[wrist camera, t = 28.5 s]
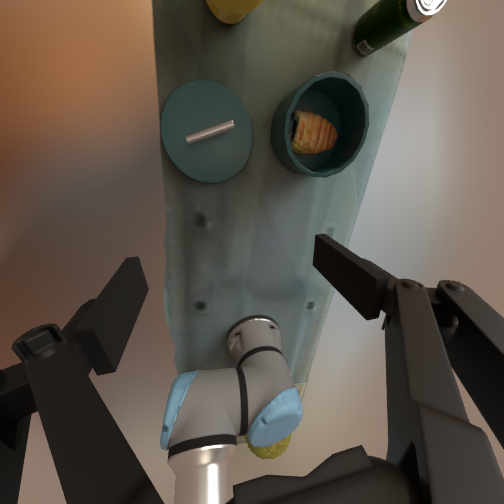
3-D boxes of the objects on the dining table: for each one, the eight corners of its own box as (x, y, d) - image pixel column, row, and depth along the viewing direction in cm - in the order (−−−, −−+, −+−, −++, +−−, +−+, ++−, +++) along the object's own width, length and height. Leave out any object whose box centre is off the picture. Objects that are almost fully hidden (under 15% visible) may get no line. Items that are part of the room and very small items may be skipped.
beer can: (369, 63, 37) (436, 26, 27) (345, 48, 36) (405, 4, 25) (385, 24, 35) (463, -32, 25) (360, 7, 34) (432, -60, 23)
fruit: (280, 386, 72) (308, 437, 64) (271, 394, 82) (294, 439, 74) (238, 414, 65) (263, 475, 57) (234, 420, 75) (255, 472, 67)
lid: (261, 166, 41) (275, 169, 33) (186, 193, 40) (182, 203, 32) (235, 68, 34) (244, 42, 26) (143, 99, 33) (124, 82, 25)
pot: (345, 159, 44) (370, 161, 37) (281, 183, 43) (295, 188, 36) (337, 75, 37) (367, 57, 30) (261, 101, 36) (274, 89, 30)
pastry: (336, 120, 40) (349, 117, 36) (326, 159, 42) (337, 159, 39) (291, 110, 37) (299, 105, 34) (283, 151, 40) (290, 151, 37)
